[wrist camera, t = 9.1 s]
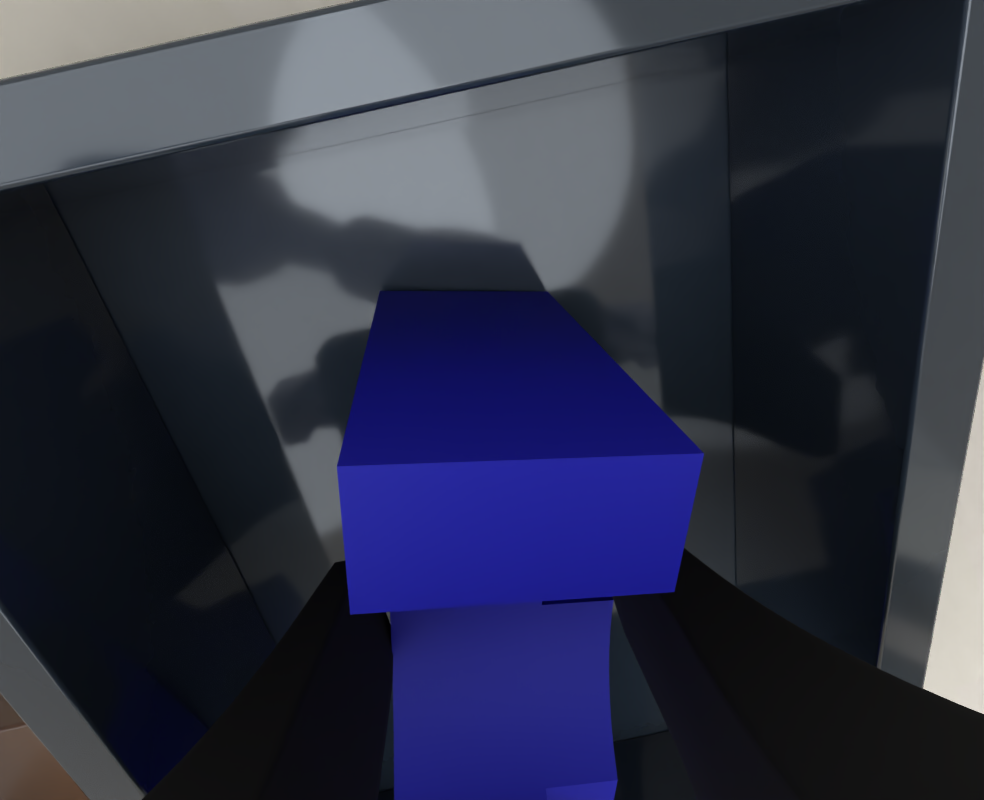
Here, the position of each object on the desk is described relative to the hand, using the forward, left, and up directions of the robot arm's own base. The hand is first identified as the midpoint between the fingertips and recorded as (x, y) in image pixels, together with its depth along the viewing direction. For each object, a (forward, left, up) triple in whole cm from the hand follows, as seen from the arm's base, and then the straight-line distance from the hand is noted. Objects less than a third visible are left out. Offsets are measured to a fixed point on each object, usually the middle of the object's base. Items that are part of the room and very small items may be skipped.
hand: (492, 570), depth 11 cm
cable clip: (0, -1, -1) cm, 2 cm away
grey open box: (0, 0, -2) cm, 2 cm away
